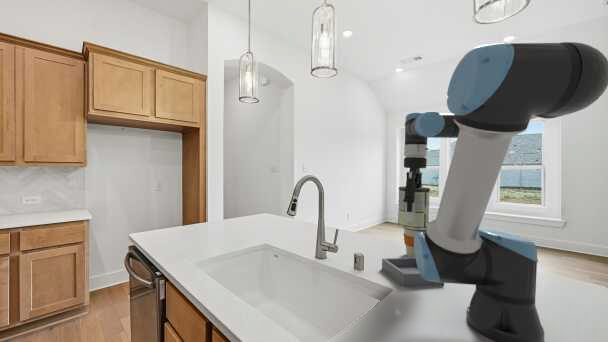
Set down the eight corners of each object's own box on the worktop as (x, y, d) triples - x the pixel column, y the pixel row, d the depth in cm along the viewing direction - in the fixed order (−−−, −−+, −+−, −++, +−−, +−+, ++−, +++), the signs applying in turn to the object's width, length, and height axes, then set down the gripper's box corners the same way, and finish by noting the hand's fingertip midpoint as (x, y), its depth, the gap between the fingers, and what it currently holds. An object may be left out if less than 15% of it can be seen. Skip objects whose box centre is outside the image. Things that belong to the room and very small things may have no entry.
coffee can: (394, 223, 101) (395, 186, 101) (422, 224, 100) (424, 187, 100) (401, 229, 91) (403, 188, 91) (433, 230, 90) (434, 189, 90)
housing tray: (444, 283, 90) (444, 272, 90) (403, 286, 87) (404, 274, 87) (417, 267, 104) (417, 257, 104) (381, 268, 102) (382, 258, 102)
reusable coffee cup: (415, 262, 110) (417, 226, 110) (396, 252, 122) (397, 220, 122) (439, 259, 114) (440, 224, 114) (418, 250, 126) (419, 219, 126)
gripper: (420, 155, 84) (417, 225, 84) (431, 158, 102) (429, 216, 103) (395, 155, 88) (393, 222, 88) (411, 158, 107) (409, 213, 107)
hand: (413, 219), depth 95 cm, fingers closed on coffee can, 10 cm apart
